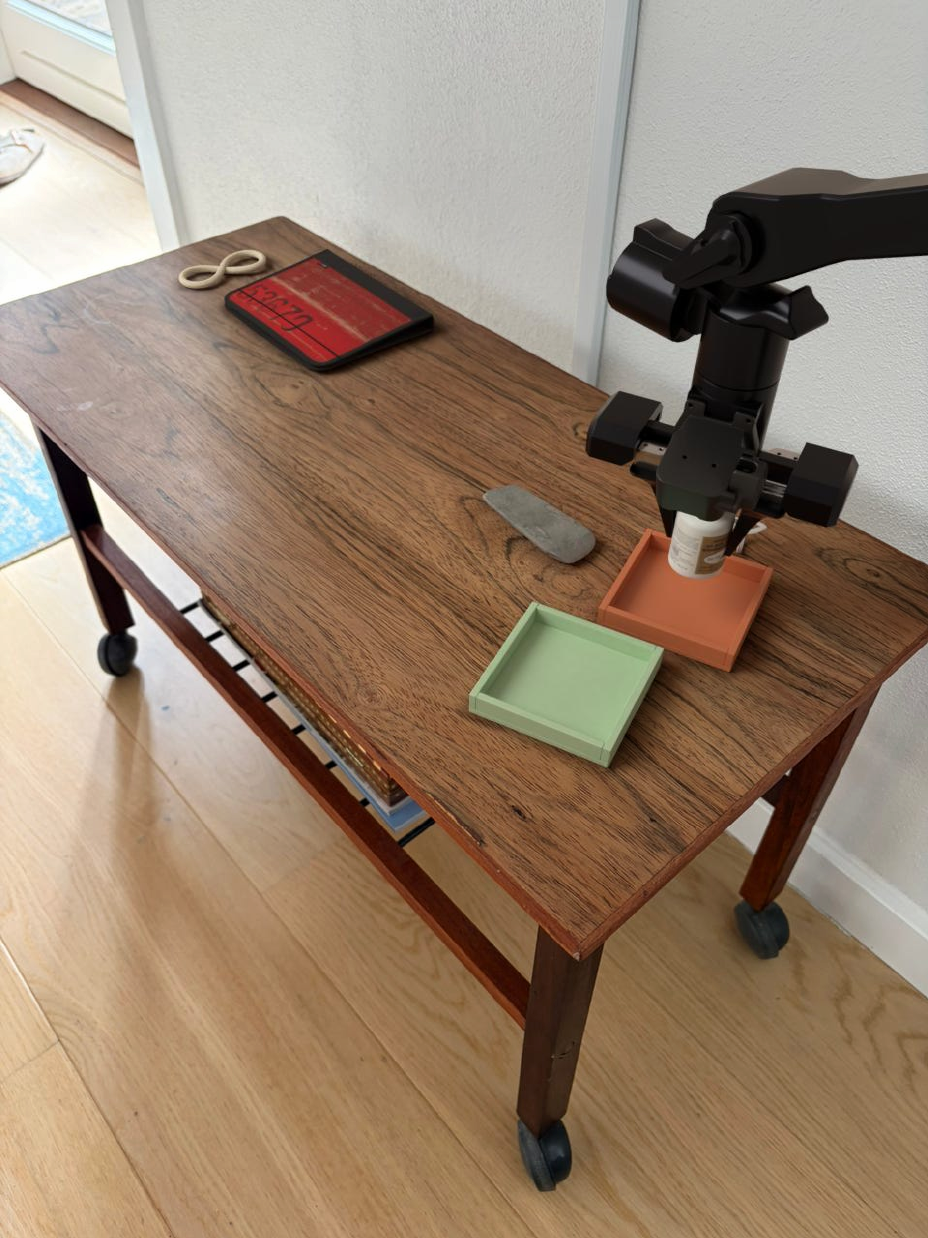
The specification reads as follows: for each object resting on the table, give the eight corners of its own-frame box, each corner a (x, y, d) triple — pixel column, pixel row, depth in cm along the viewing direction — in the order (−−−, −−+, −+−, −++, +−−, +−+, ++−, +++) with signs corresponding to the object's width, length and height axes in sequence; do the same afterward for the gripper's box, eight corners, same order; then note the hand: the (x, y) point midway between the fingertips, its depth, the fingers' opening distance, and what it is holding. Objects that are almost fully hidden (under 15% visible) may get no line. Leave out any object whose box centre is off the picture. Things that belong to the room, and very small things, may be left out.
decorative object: (274, 266, 126) (254, 251, 129) (272, 258, 125) (252, 243, 128) (191, 294, 121) (172, 278, 124) (189, 286, 120) (170, 270, 123)
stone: (604, 539, 89) (563, 562, 86) (601, 552, 90) (561, 575, 87) (512, 473, 95) (471, 493, 92) (510, 486, 96) (470, 506, 93)
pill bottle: (707, 589, 79) (725, 511, 74) (657, 566, 81) (672, 488, 76) (732, 559, 82) (752, 482, 76) (684, 538, 84) (700, 460, 78)
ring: (737, 562, 88) (744, 535, 86) (718, 545, 90) (724, 518, 88) (760, 554, 89) (767, 527, 87) (740, 537, 91) (747, 510, 89)
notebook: (328, 246, 125) (435, 312, 114) (330, 263, 127) (436, 330, 116) (214, 291, 118) (317, 366, 107) (218, 309, 120) (320, 385, 109)
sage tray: (660, 665, 80) (664, 648, 79) (607, 768, 73) (610, 751, 72) (531, 618, 84) (532, 600, 82) (468, 711, 77) (468, 694, 75)
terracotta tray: (768, 585, 87) (774, 568, 85) (729, 672, 80) (734, 655, 78) (644, 544, 90) (647, 527, 89) (596, 624, 83) (598, 607, 82)
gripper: (563, 390, 67) (548, 567, 78) (850, 471, 61) (790, 650, 72) (625, 316, 74) (603, 488, 85) (888, 381, 68) (828, 557, 79)
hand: (699, 543), depth 80 cm, fingers closed on pill bottle, 4 cm apart
